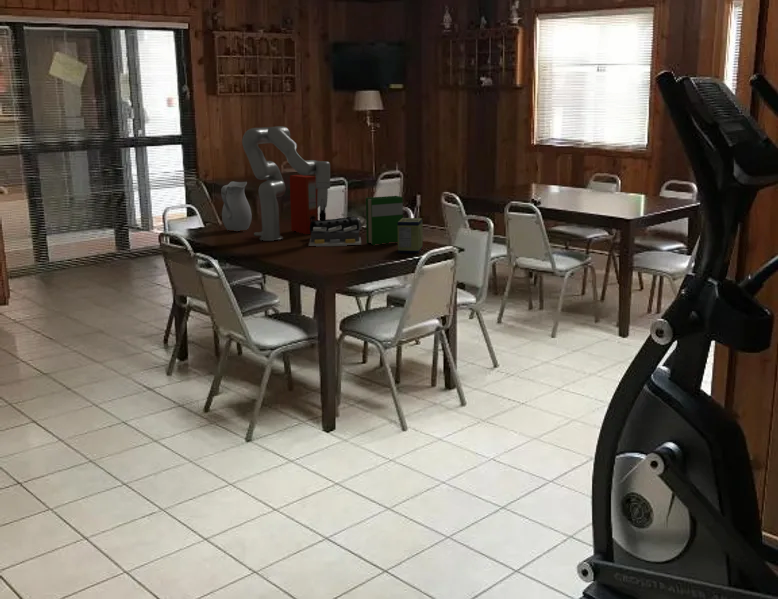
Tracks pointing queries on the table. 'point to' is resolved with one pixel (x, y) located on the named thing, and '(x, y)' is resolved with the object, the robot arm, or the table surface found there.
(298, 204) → the file binder
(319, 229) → the switch left
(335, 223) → the muzzle brake
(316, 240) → the panel
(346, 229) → the switch right
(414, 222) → the protein box
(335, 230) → the switch middle
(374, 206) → the hardback book
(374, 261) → the table surface
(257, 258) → the table surface
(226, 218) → the pitcher
